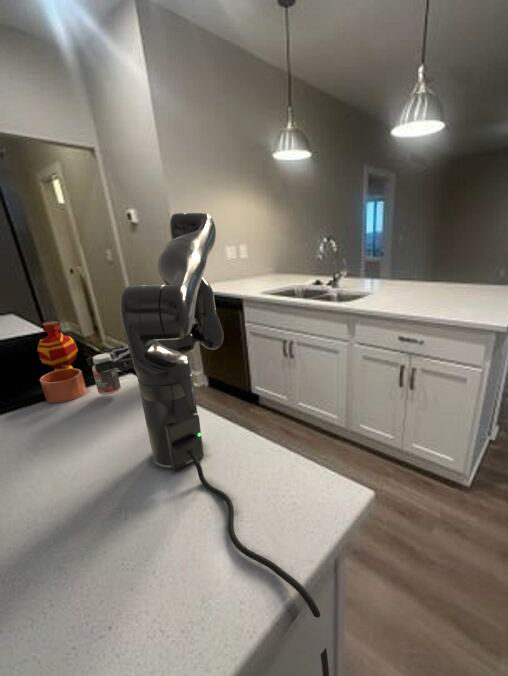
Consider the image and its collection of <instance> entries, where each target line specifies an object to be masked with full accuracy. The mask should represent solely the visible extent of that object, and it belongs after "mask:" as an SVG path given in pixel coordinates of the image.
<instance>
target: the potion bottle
mask: <svg viewBox="0 0 508 676" xmlns="http://www.w3.org/2000/svg"><path fill="white" fill-rule="evenodd" d="M41 325H42V327H43V328H42V330H43V332H44V333H47V336H45V337H43V338H42V339H39V342H38V345H37V351H36V352H38V357H39V360H40V361H41V363H42V364H44V365H47V366H48V367H51V368H53V371H56V370H61V369H69V368H74V367H73V366H72V364H73V363H74V361H75V360H76V358H77V356H78V352H79V348H78V347H77V344H76V341H75V340H74V339H73V338H72V337H71V336H70V335H65V334H63V333H62V332H59V331H60V330H61V326H60V325H59V321H55V320H52V321H46V322H43V323H42V324H41Z"/></svg>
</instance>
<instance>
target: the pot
mask: <svg viewBox="0 0 508 676" xmlns="http://www.w3.org/2000/svg"><path fill="white" fill-rule="evenodd" d="M39 384H40V386H41V390H42V393H43V396H44V399H45V401H46V402H49V403H64V402H69V401H72V400H75V399H78V398H81V397H82V396H83V395H84V394H86V392H87V386H86V382H85V379H84V374H83V371H82V370H81V369H80V368H75V367H73V368H69V369H61V370H56V371H54V370H53V371H50V372H48V373H46V374H44V375H42V376H41V377H40V378H39Z"/></svg>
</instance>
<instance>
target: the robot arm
mask: <svg viewBox="0 0 508 676" xmlns="http://www.w3.org/2000/svg"><path fill="white" fill-rule="evenodd" d="M169 231H170V237H171V239H170V240H169V242H168V243H167V244H166V245H165V246H164V248H163V250H162V252H161V254H160V255H159V257H158V260H157V270H158V273H159V276H160V277H161V279H162V281H163V283H165V284H136V285H134V284H133V285H128V286H126V287H125V288H124V289H123V290H122V292H121V294H120V298H119V315H120V319H121V324H122V328H123V332H124V336H125V339H126V343H127V346H125V345H124V344H119V345H118V346H114V347H110V348H108V349H104V350H102V353H101V354H110V356H111V360H109V361H105V362H101V363H98V364H94V362H93V357H94V356H89V357H87V358H86V363H87V365H88V366H89V367H93V366H94V365H95V369H96V372H98V373H100V372H104V371H108V370H111V369H113V368H114V369H115V370H117V371H119V372H123V371H127V370H132V369H134V372H135V374H136V378H137V383H138V388H139V393H140V399H141V404H142V410H143V414H144V415H143V416H144V419H145V424H146V430H147V434H148V440H149V444H150V449H151V450H150V451H151V457H152V461H153V464H154V465H156V466H157V467H159V468H161V469H168V470H169V469H170V470H173V471H174V472H176V471H179V470H180V469H183V468H185V467H186V466H188V465H190V464H192V463H193V464H194V466H195V468H196V471H197V475H198V479H199V481H200V483H201V484H202V485H203V486H204V487H205V488H206V489H207V490H208V491H209V492H211V493H213V494H215V495H217V496H218V497H220V498H222V500H223V501H224V502H225V503H226V506H227V509H228V521H227V524H228V525H227V527H228V529H227V530H228V535H229V538H230V540H231V543H232V544H233V546H234V547H235V548H236V549H237V550H238V551H239V552H240V553H242V554H243V555H244V556H246V557H248V558H249V559H251V560H253V561H255V562H257V563H260V564H262V565H264V566H265V567H267V568H268V569H270V570H271V571H272V572H273V573H275V574H276V575H277V576H279V578H281V579H282V580H283V581H285V582H286V583H287V584H288V585H290V586H291V587H292V588H293V589H294V590H295V591H296V592H298V594H299V595H300V597H301V598H302V599H303V600H304V601H305V603H306V605H307V606H308V608H309V610H310V612H311V614H312V616H313V617H315V618H317V619H319V618H320V617H321V612H320V610H319V607H318V605H317V604H316V602H315V601H314V599H313V598H312V595H310V593H309V592H308V591H307V588H305V587H304V586H303V585H302V584H301V583H300V582H299V581H298V580H296V579H295V578H294V577H293V576H291V575H290V574H289V573H288V572H286V571H284V570H283V569H282V568H281V567H280V566H279V565H277V564H276V563H274V562H273V561H272V560H270V559H268V558H266V557H264V556H262V555H260V554H258V553H256V552H254V551H252V550H251V549H249V548H247V547H246V546H245V545H243V543H241V541H240V540H239V539H238V537H237V535H236V532H235V525H234V524H235V509H234V505H233V502H232V500H231V498H230V497H229V495H228V494H227V493H225V492H224V491H223V490H220V489H218V488H216V487H214V486H213V485H212V484H210V483H209V482H208V481H207V479H206V478H205V475H204V472H203V468H202V465H201V462H200V461H199V460H200V459H201V458H203V457H205V453H204V446H203V445H204V444H203V437H202V430H201V423H200V415H199V414H198V407H197V399H196V392H195V391H196V390H195V384H194V383H195V382H194V375H193V368H192V362H191V359H190V357H189V356H188V355H187V353H190V352H192V351H193V350H194V349H195V346H196V345H195V344H200V345H202V346H203V347H205V348H206V349H208V350H218V349H219V348H220V347H221V346H222V344H223V342H224V330H223V326H222V324H221V321H220V317H219V315H218V313H217V309H216V308H217V307H216V301H215V295H214V290H213V288H212V286H211V285H210V283H209V282H208V280H207V279H206V278H205V277H204V274H205V271H206V267H207V262H208V258H209V256H210V254H211V252H212V250H213V248H214V246H215V243H216V238H217V229H216V224H215V222H214V219H213V218H212V217H211V216H210V215H209V214H207V213H203V212H176V213H173V214H172V215H171V217H170V220H169ZM194 321H196V322H194ZM320 663H321V672H322V676H330V669H329V659H328V651H327V647H324V650H322V651H321V653H320Z"/></svg>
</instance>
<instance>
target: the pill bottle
mask: <svg viewBox="0 0 508 676" xmlns="http://www.w3.org/2000/svg"><path fill="white" fill-rule="evenodd" d="M92 357H93V362H94V364H98V363H101V362H105V361H109V360H111V355H110V354H102V353H100V354H96V355H94V356H92ZM91 370H92V374H93V378H94V381H95V385H96V389H97V393H98V394H99V395H103V396H105V395H106V396H107V395H112V394H115V393H118V392H119V391H120V390H121V388H122V386H121V382H120V377H119V373H118V369H117V370H115V369H114V368H113V369H111V370H108V371H104V372H100V373H98V372H96V369H95V365H94V366H91Z"/></svg>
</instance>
